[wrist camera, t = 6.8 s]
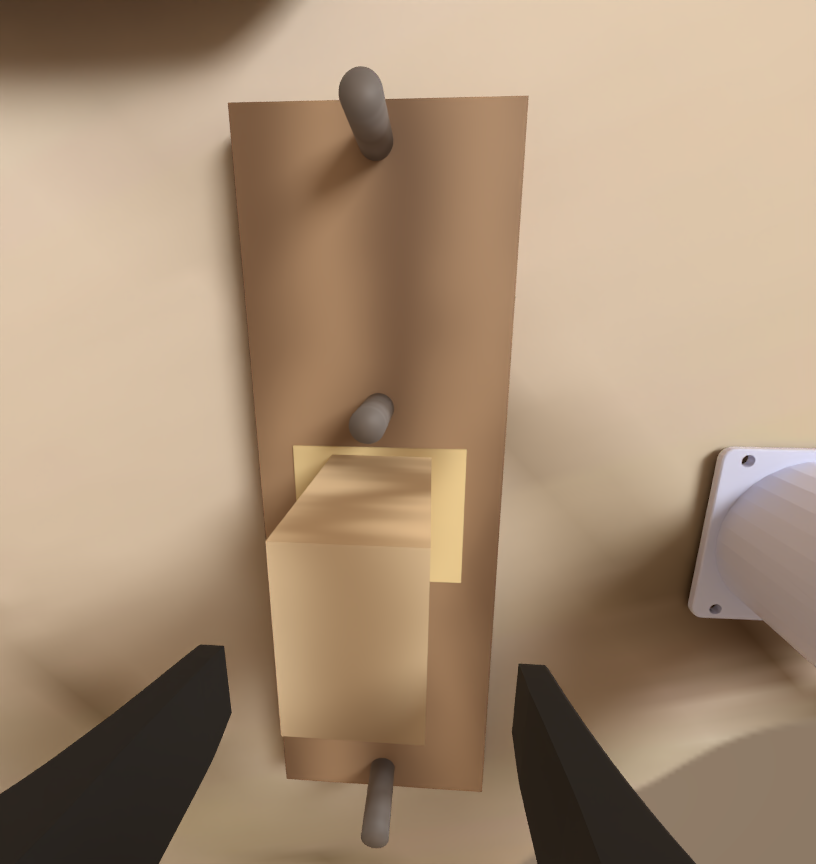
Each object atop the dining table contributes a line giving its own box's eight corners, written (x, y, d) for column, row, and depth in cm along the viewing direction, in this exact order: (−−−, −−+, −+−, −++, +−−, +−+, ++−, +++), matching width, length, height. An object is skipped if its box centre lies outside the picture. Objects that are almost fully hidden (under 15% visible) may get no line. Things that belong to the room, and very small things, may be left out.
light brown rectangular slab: (431, 457, 17) (430, 548, 10) (427, 588, 18) (424, 745, 11) (328, 454, 17) (259, 541, 10) (333, 584, 18) (275, 735, 12)
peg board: (519, 118, 15) (554, 33, 11) (478, 761, 22) (489, 866, 18) (247, 123, 15) (174, 45, 11) (296, 750, 23) (264, 849, 19)
